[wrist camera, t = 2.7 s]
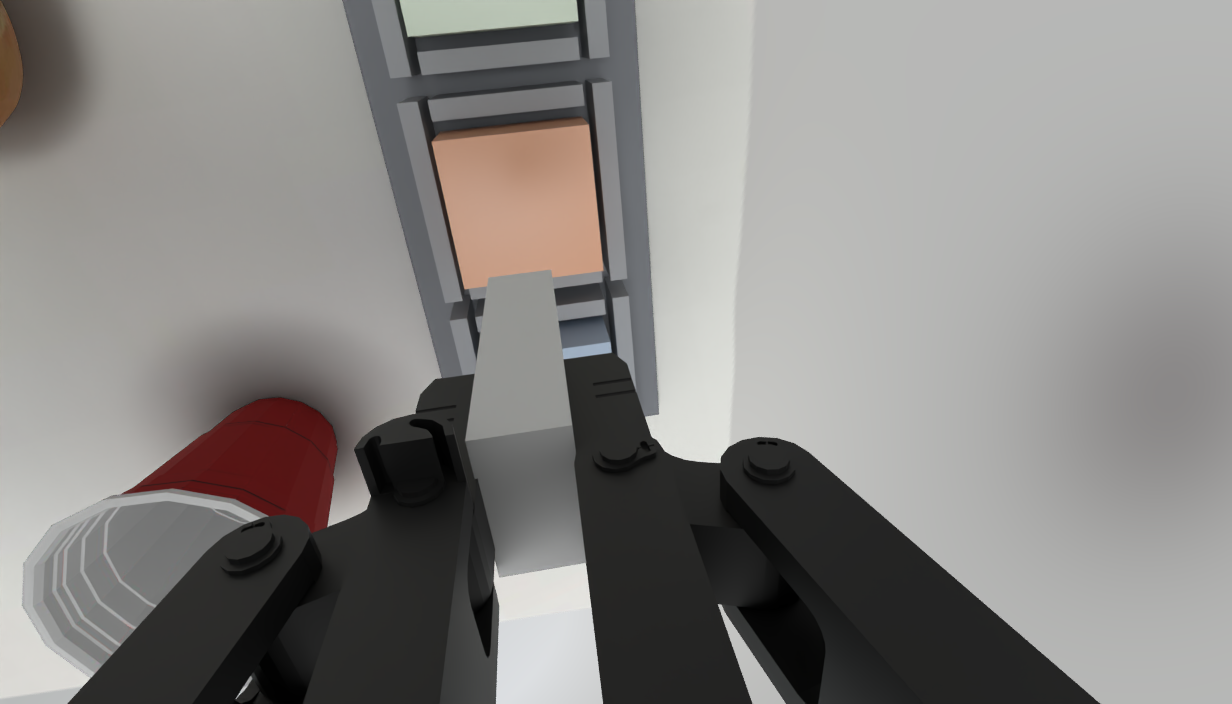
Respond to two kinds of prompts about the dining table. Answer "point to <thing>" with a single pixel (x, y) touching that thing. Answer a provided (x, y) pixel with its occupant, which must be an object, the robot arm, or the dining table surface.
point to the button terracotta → (520, 198)
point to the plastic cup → (174, 525)
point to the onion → (9, 67)
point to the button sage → (483, 15)
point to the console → (507, 94)
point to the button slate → (584, 337)
